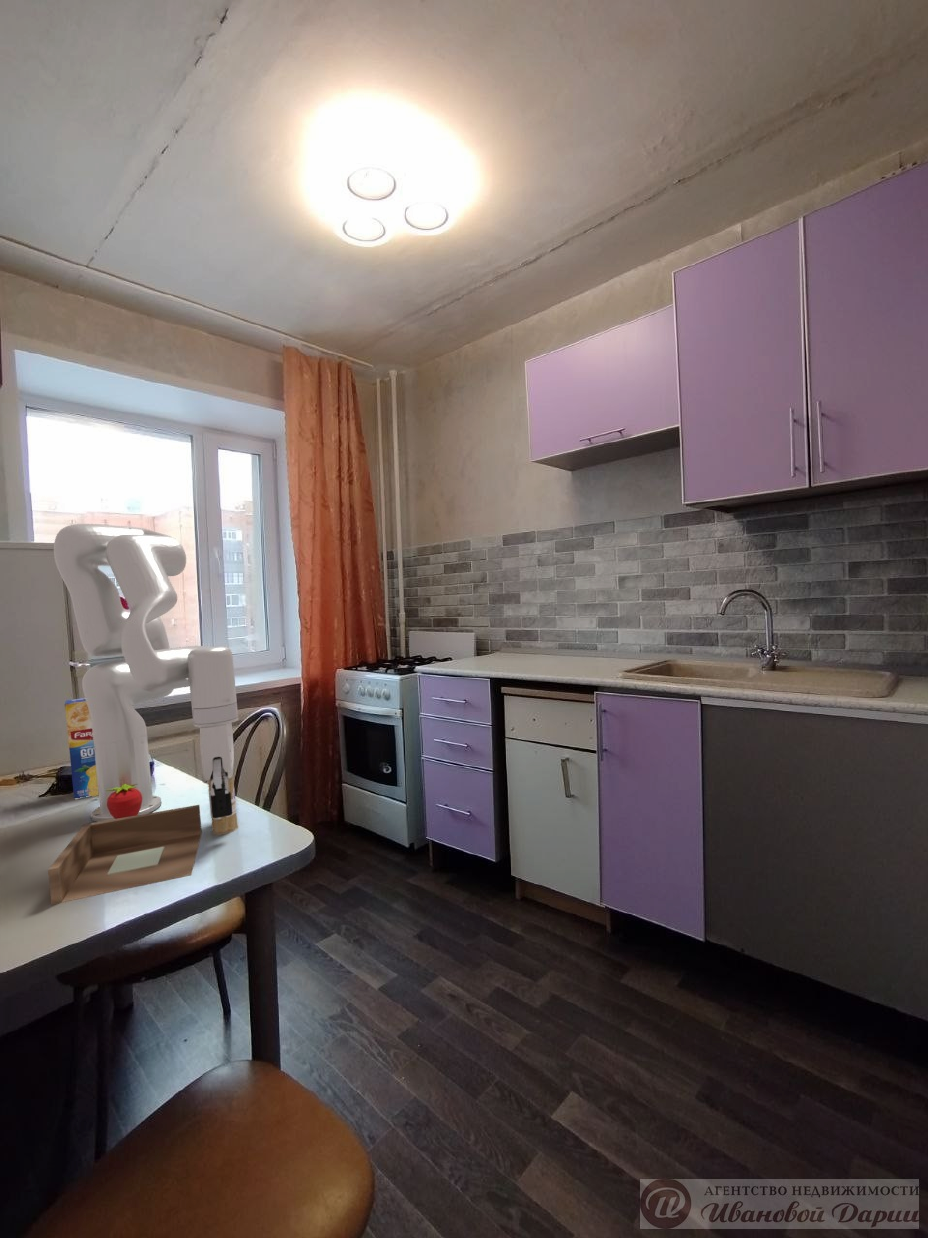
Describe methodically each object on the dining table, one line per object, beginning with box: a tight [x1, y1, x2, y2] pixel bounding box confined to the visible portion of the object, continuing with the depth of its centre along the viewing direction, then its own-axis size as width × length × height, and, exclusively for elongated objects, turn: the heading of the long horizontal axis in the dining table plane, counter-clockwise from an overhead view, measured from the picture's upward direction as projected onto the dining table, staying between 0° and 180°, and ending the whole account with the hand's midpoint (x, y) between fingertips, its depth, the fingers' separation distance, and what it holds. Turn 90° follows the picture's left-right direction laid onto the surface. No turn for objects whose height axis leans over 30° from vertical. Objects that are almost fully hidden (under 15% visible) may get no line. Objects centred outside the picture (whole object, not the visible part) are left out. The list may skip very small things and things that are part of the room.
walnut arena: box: [47, 804, 203, 905], centre depth 92 cm, size 18×18×6 cm
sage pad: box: [107, 847, 164, 875], centre depth 93 cm, size 7×7×1 cm
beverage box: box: [64, 697, 99, 799], centre depth 134 cm, size 7×11×22 cm, turn 123°
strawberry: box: [106, 778, 143, 819], centre depth 109 cm, size 6×8×10 cm
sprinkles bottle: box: [207, 765, 239, 836], centre depth 104 cm, size 5×5×14 cm
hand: (224, 807), depth 104 cm, fingers open, 9 cm apart
